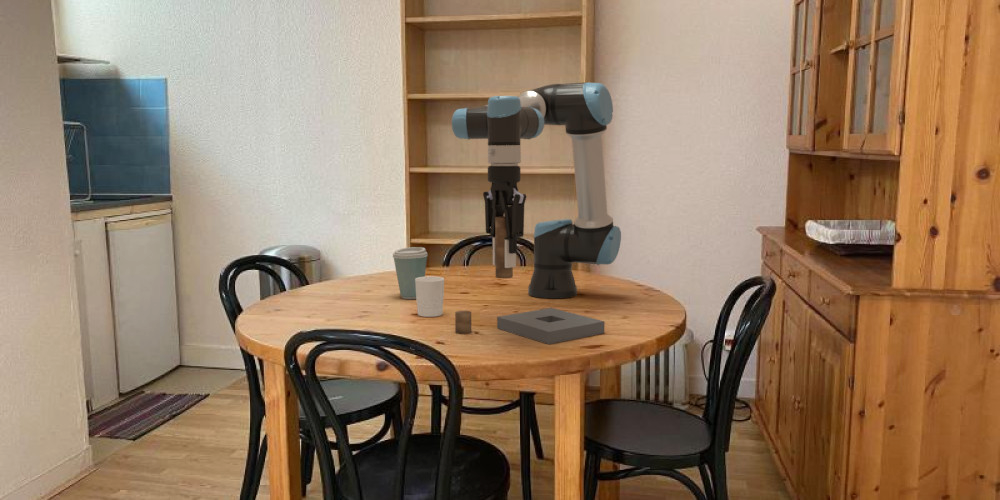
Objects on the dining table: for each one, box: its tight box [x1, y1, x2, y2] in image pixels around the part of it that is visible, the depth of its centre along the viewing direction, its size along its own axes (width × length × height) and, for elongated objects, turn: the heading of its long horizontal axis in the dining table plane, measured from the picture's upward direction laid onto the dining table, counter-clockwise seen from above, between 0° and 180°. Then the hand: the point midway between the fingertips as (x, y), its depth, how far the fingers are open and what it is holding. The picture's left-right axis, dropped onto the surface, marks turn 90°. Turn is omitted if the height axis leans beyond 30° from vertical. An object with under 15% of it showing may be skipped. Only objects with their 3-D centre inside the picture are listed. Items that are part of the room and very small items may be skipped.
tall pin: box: [495, 216, 514, 279], centre depth 178 cm, size 4×4×14 cm
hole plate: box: [496, 307, 606, 345], centre depth 192 cm, size 20×18×3 cm
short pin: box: [454, 310, 472, 335], centre depth 190 cm, size 4×4×5 cm
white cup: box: [415, 275, 445, 318], centre depth 210 cm, size 8×8×10 cm
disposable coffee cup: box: [392, 246, 429, 300], centre depth 233 cm, size 11×11×15 cm
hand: (504, 265), depth 179 cm, fingers closed on tall pin, 4 cm apart
